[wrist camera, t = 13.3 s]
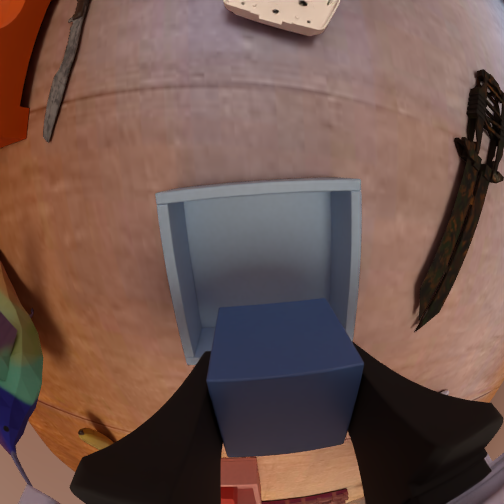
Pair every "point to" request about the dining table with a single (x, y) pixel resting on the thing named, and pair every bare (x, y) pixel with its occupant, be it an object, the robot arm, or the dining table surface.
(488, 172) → the knife
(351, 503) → the crossbow
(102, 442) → the banana
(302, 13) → the white wedge piece
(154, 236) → the dining table surface
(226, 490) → the red block
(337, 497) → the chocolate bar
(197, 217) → the blue bin
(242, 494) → the pink bin
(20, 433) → the decorative sculpture
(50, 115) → the knife
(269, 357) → the blue block
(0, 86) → the tape dispenser
